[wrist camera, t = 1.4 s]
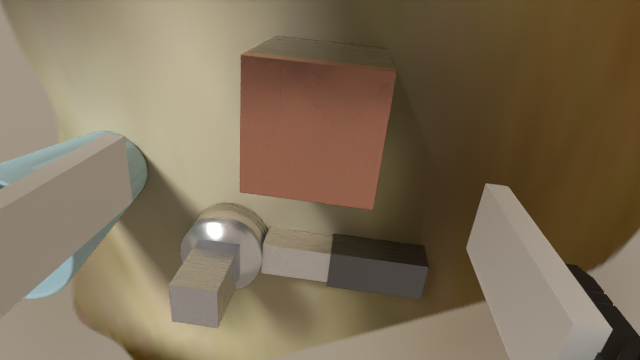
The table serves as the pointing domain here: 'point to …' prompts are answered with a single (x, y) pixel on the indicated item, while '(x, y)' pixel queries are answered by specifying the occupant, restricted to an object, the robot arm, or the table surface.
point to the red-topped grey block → (314, 120)
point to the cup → (62, 275)
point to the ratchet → (281, 262)
